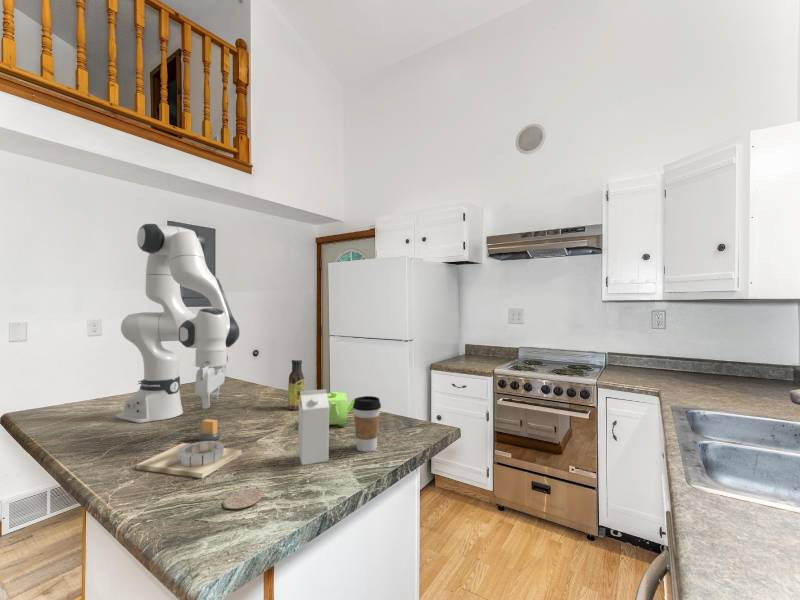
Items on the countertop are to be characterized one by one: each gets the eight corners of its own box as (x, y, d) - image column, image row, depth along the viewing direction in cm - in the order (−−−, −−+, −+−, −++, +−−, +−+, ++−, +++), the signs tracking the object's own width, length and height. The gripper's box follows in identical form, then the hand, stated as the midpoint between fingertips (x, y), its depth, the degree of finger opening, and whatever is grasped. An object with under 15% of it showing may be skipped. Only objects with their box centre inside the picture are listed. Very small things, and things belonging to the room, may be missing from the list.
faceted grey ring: (167, 464, 97) (167, 454, 97) (199, 448, 108) (199, 439, 108) (203, 468, 95) (203, 458, 95) (231, 452, 105) (231, 443, 105)
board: (136, 469, 97) (136, 464, 97) (182, 447, 111) (182, 443, 111) (202, 478, 92) (202, 473, 92) (241, 454, 107) (241, 450, 107)
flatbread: (243, 489, 87) (243, 485, 87) (268, 496, 84) (268, 491, 84) (213, 507, 80) (214, 502, 80) (240, 515, 77) (240, 510, 77)
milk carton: (298, 455, 106) (298, 388, 106) (323, 451, 109) (323, 386, 109) (302, 465, 100) (302, 394, 100) (328, 461, 102) (329, 392, 103)
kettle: (333, 433, 124) (333, 399, 124) (304, 425, 132) (304, 393, 132) (362, 421, 137) (362, 390, 137) (333, 415, 145) (334, 385, 145)
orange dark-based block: (194, 442, 116) (194, 422, 116) (208, 435, 122) (208, 416, 122) (210, 444, 114) (211, 424, 114) (224, 437, 120) (224, 418, 120)
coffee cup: (347, 451, 110) (348, 399, 110) (360, 441, 118) (360, 393, 118) (373, 455, 107) (374, 402, 107) (384, 444, 115) (385, 395, 115)
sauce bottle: (299, 411, 149) (299, 361, 149) (284, 410, 150) (285, 360, 150) (306, 406, 155) (307, 358, 156) (292, 405, 157) (293, 358, 157)
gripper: (213, 364, 109) (212, 412, 108) (229, 356, 129) (228, 396, 128) (189, 364, 107) (188, 413, 107) (209, 356, 127) (208, 397, 127)
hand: (210, 404), depth 118 cm, fingers open, 8 cm apart
